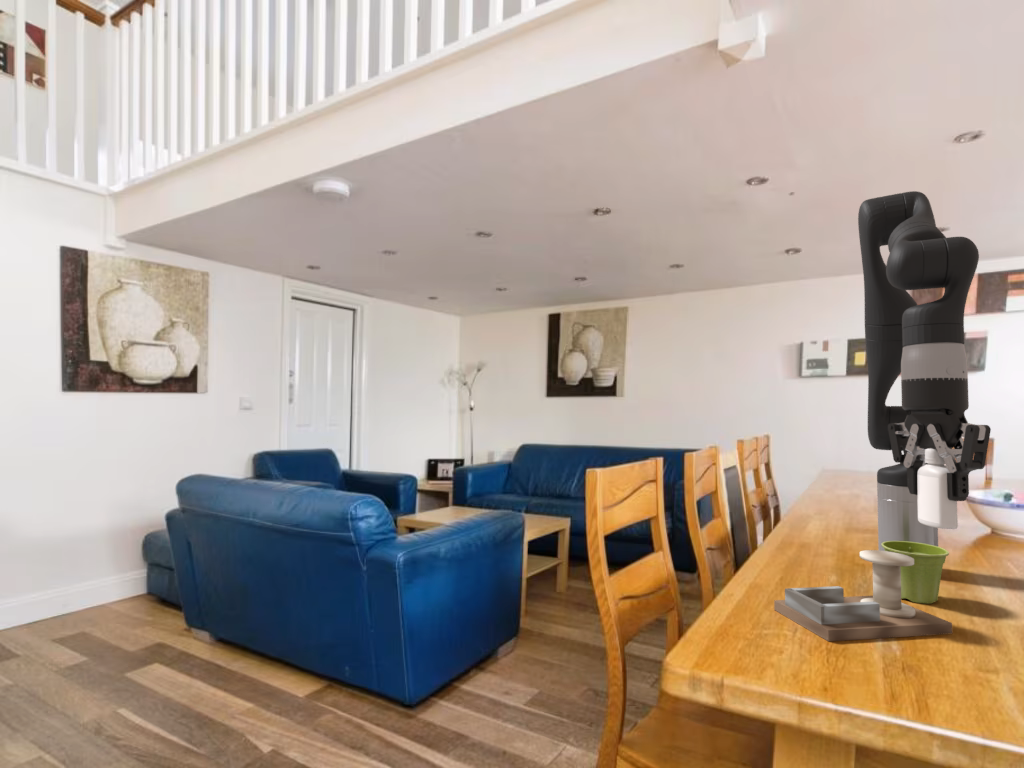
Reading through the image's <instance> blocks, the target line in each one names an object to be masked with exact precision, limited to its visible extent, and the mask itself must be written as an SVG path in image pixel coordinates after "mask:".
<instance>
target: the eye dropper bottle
mask: <svg viewBox="0 0 1024 768" xmlns="http://www.w3.org/2000/svg"><path fill="white" fill-rule="evenodd" d="M925 463H928V464H926V465H925V466H922V467H921V468H919V470H918V472H917V501H918V521H919V522H920V523H921V524H924V525H927V526H930V527H935V528H938V529H941V530H943V529H944V530H957V529H958V526H959V525H958V524H959V523H958V501H952V500H949V499H948V489H947V473H951V472H949V471H948V469H947V466H946V464H945V461H944V459H943V458H942V457H941V456H940V455H939V454H938V451H937V449H933V448H927V449H925Z"/></svg>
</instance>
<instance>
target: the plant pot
mask: <svg viewBox="0 0 1024 768" xmlns="http://www.w3.org/2000/svg"><path fill="white" fill-rule="evenodd" d="M881 545H882V547H883V548H884V550H885V551H889V552H895V553H899V554H904V555H907V556H910V557H912V558H913V559H914V565H912V566H901V600H902V599H907V600H909V601H910V602H912V603H916V604H926V605H929V604H934V603H935V602H938V599H939V592H940V585H941V579H942V578H941V577H942V573H943V567H944V564H945V563H946V557H948V556H949V555H950V552H949V550H947V549H945V548H943V547H941V546H938V547H937V546H933V545H929V544H923V543H917V542H908V541H886V542H883V543H882V544H881Z"/></svg>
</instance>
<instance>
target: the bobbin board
mask: <svg viewBox="0 0 1024 768" xmlns="http://www.w3.org/2000/svg"><path fill="white" fill-rule="evenodd" d="M859 558H860V559H861V560H864V561H866V562H869V563H872V595H862V596H861V595H860V596H858V595H855V596H844V595H845V594H844V587H841V586H839V585H837V586H835V585H833V586H818V587H817V586H816V587H815V586H814V587H812V586H811V587H810V586H809V587H788V588H784V599H777V600H776V599H775V600H774V601H773V603H774V608H773V609H774V611H776V612H777V613H779V614H780V615H782V616H784V617H786V618H788V619H789V620H790V621H793V622H795V623H796V624H798V625H799V626H801V627H803V628H805V629H807V630H808V631H809V632H812V633H813V634H815V635H816V636H818V637H821V639H823V640H825V641H827V642H839V641H855V640H856V641H857V640H870V639H872V640H875V639H886V638H887V639H888V638H889V639H890V638H901V637H902V638H904V637H906V638H907V637H919V636H921V637H922V636H934V635H951V634H953V622H950V621H948V620H946V619H943V618H941V617H939V616H936V615H934V614H932V613H928V612H926V611H924V610H921V609H919V608H916V607H914V606H911V605H910V604H906V603H904V602H902V599H901V566H912V565H914V559H913V558H912V557H910V556H907V555H904V554H899V553H895V552H889V551H880V550H879V549H865V550H861V551H859Z"/></svg>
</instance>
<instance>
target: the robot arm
mask: <svg viewBox="0 0 1024 768" xmlns="http://www.w3.org/2000/svg"><path fill="white" fill-rule="evenodd" d="M935 219H936V218H935V215H934V211H933V209H932V205H931V202H930V199H929V198H928V196H927V195H926V194H924V193H923V192H920V191H915V190H914V191H904V192H900V193H893V194H889V195H884V196H879V197H873V198H869V199H865V200H864V201H862V203H861V204H860V206H859V208H858V217H857V220H858V221H857V222H858V223H857V224H858V225H857V226H858V237H859V246H860V255H861V263H862V264H861V265H862V272H863V288H864V289H863V290H864V293H863V294H864V339H865V348H866V360H867V361H866V362H867V379H868V382H867V383H868V384H867V387H868V388H867V391H868V392H867V393H868V394H867V436H868V441H869V444H870V446H871V447H872V448H873V449H876V450H880V451H891V452H892V453H891V454H892V457H893V458H892V459H893V461H894V463H896V464H894V465H889V466H885V467H881V468H878V470H877V473H876V491H877V495H876V496H877V498H876V499H877V537H878V539H877V541H878V542H877V543H878V550H880V551H885V550H884V548H883V547H882V545H881V544H882V543H883V542H886V541H908V542H917V543H923V544H929V545H933V546H937V547H939V528H935V527H930V526H927V525H924V524H921V523H920V522H919V521H918V501H917V472H918V470H919V468H921V467H922V466H925V465H926V464H928V463H925V449H927V448H933V449H937V451H938V454H939V455H940V456H941V457H942V458H943V459H944V461H945V464H944V465H946V466H947V469H948V471H949V472H951V473H947V489H948V499H949V500H952V501H957V502H964V501H966V500H967V498H968V497H969V496H970V495H969V494H970V486H969V483H970V482H969V474H970V473H971V472H973V471H977V470H982V469H984V468H985V465H986V459H987V454H988V448H989V441H990V436H991V432H992V431H991V430H992V429H991V426H990V425H988V424H975V423H974V424H973V423H969V421H968V420H967V418H966V416H965V412H966V411H967V410H968V409H969V378H968V377H969V376H968V375H969V373H968V370H969V369H968V358H967V353H966V347H965V346H966V345H965V309H966V304H967V300H968V296H969V291H970V288H971V285H972V282H973V280H974V276H975V274H976V272H977V271H976V270H977V268H978V263H979V260H980V259H979V258H980V254H979V253H980V252H979V249H978V246H977V245H976V244H975V243H974V241H972V239H970V238H968V237H965V236H951V237H950V236H949V237H946V235H945V234H944V233H943V232H942V231H941V230H940V229H939V228H938V227H937V225H936V224H937V223H936V220H935ZM883 246H884V247H885V246H887V249H888V251H889V255H888V257H887V261H886V263H885V261H884V258H883V255H882V253H881V247H883ZM941 288H943V289H944V292H943V295H942V296H941V298H939V299H937V300H933V301H929V302H926V303H925V302H924V303H921V304H918V303H917V302H916V300H915V299H914V298H913V297H912V296H911V295H910V293H909V292H908V291H914V290H915V291H916V290H917V291H918V290H929V289H941ZM899 376H900V377H901V378H900V379H901V380H900V381H901V382H900V383H901V384H900V385H901V387H900V388H901V389H900V390H901V405H890V406H889V405H886V401H887V398H888V396H889V393H890V391H891V389H892V387H893V385H894V384H895V382H896V380H897V379H898V377H899Z"/></svg>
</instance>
